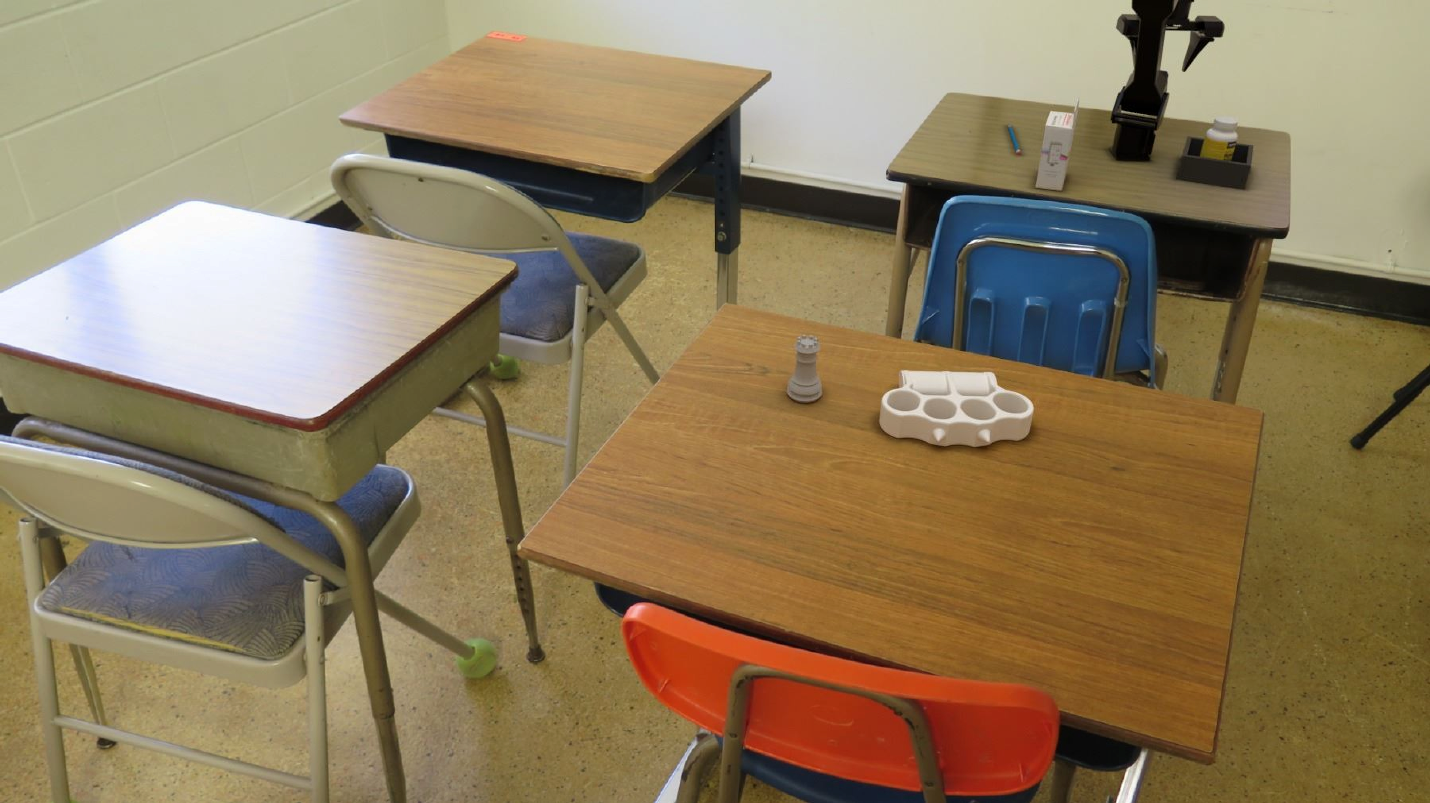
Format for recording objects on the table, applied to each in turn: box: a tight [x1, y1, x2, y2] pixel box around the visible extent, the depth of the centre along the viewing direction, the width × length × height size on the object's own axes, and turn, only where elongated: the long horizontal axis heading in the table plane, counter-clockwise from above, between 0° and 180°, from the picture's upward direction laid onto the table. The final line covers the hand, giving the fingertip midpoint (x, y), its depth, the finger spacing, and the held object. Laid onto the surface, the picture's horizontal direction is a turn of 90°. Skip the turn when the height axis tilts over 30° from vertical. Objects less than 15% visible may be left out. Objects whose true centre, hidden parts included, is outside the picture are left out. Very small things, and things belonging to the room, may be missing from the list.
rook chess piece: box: [786, 334, 823, 404], centre depth 131 cm, size 4×4×8 cm
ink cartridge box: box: [1035, 97, 1080, 192], centre depth 189 cm, size 9×5×15 cm, turn 160°
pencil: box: [1007, 124, 1022, 156], centre depth 211 cm, size 1×17×1 cm, turn 174°
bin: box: [1176, 135, 1254, 190], centre depth 195 cm, size 12×12×4 cm
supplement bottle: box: [1200, 115, 1239, 161], centre depth 194 cm, size 5×5×10 cm
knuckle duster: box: [878, 369, 1035, 448], centre depth 128 cm, size 3×18×15 cm
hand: (1159, 70), depth 207 cm, fingers open, 9 cm apart
